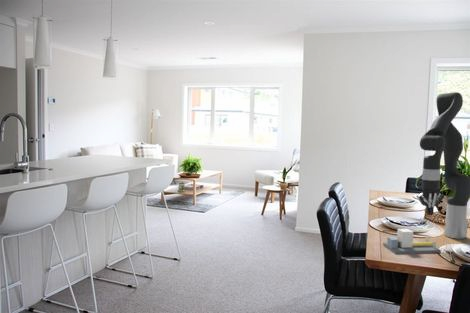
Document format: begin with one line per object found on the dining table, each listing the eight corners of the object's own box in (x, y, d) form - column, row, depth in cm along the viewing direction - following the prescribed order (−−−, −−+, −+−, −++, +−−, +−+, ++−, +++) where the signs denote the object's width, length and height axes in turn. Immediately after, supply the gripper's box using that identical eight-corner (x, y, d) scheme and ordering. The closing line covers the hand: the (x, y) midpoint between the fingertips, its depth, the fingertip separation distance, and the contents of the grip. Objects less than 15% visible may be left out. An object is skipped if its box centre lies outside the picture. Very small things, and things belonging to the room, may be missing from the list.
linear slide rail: (426, 244, 200) (426, 233, 200) (440, 252, 188) (441, 241, 188) (383, 245, 198) (383, 234, 198) (395, 253, 186) (395, 242, 186)
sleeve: (406, 243, 196) (407, 228, 195) (412, 247, 190) (413, 231, 190) (396, 244, 195) (397, 228, 194) (402, 247, 190) (403, 232, 189)
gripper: (439, 176, 194) (437, 212, 196) (413, 177, 193) (411, 213, 195) (449, 179, 187) (447, 216, 189) (422, 180, 186) (420, 217, 188)
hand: (429, 214), depth 192 cm, fingers closed
